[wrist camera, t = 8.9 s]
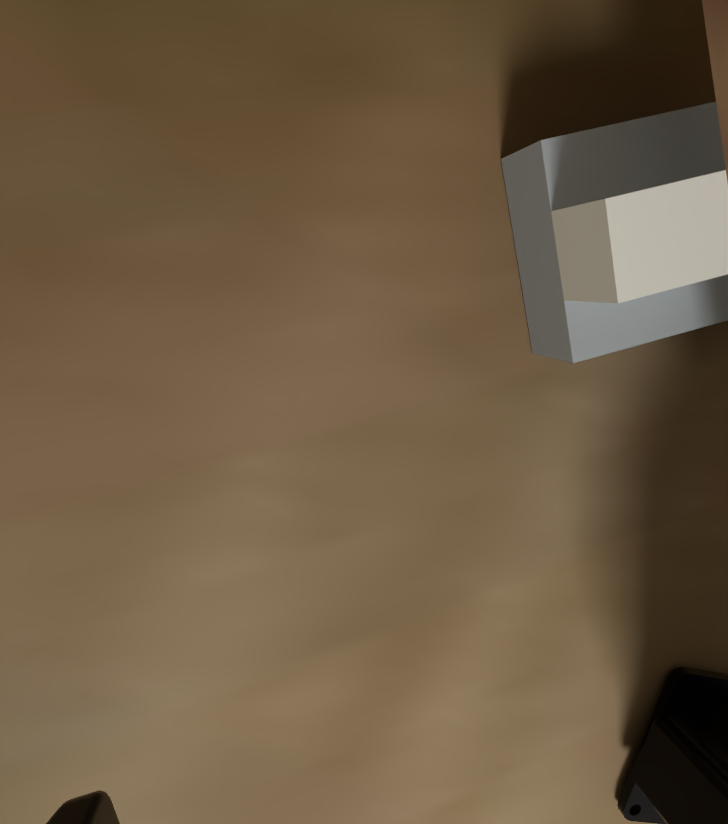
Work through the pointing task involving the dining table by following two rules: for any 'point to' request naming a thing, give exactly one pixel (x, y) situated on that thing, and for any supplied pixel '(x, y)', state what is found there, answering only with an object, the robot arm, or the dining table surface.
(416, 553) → the dining table surface
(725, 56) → the walnut bar
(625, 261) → the ridge stand
